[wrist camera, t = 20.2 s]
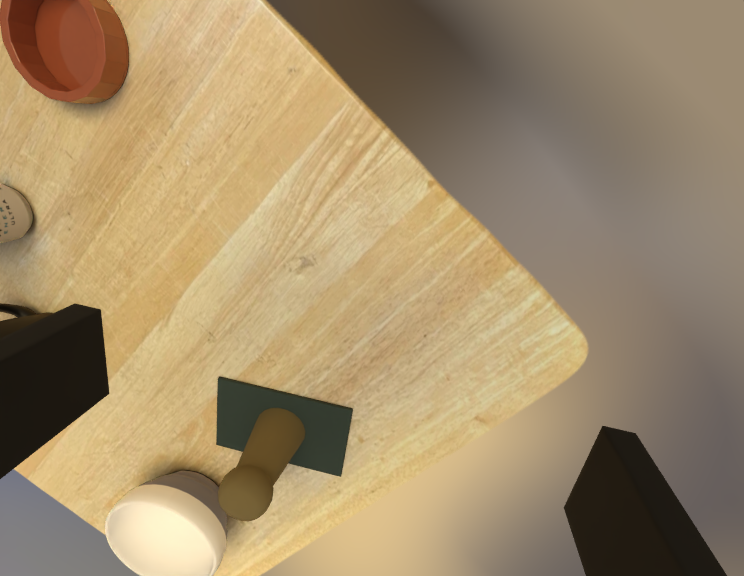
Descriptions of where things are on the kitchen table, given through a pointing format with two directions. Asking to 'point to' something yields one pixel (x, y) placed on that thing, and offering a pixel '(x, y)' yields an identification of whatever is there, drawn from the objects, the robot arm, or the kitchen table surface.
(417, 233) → the kitchen table surface
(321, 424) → the mat
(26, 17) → the holder
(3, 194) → the energy drink can
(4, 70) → the kitchen table surface
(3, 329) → the mug
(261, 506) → the cork
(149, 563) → the bowl
